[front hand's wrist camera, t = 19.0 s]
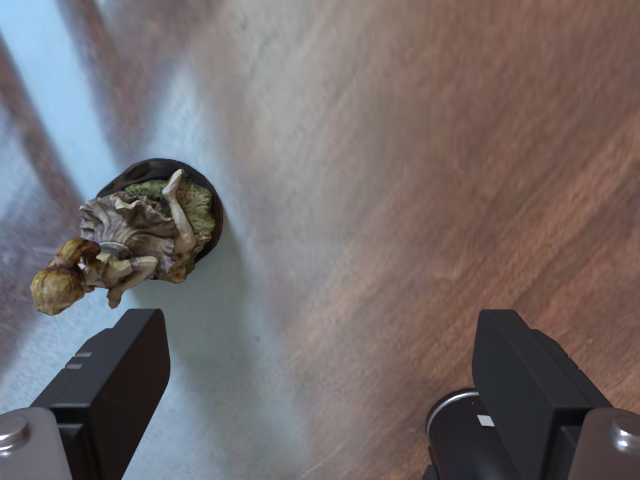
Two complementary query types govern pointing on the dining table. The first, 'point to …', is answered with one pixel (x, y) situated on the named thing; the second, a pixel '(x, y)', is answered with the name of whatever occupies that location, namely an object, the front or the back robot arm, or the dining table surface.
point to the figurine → (134, 235)
